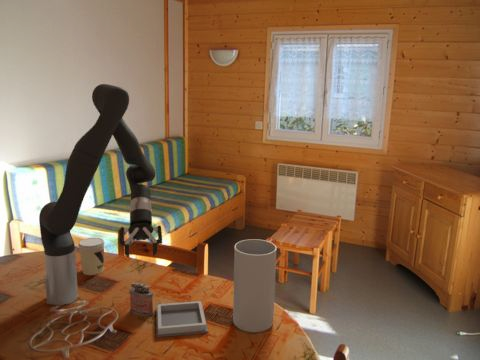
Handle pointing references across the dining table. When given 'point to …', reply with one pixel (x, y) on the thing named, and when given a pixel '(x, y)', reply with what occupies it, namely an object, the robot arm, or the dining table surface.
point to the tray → (180, 319)
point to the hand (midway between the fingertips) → (141, 255)
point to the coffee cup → (92, 255)
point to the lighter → (141, 300)
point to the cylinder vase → (254, 285)
